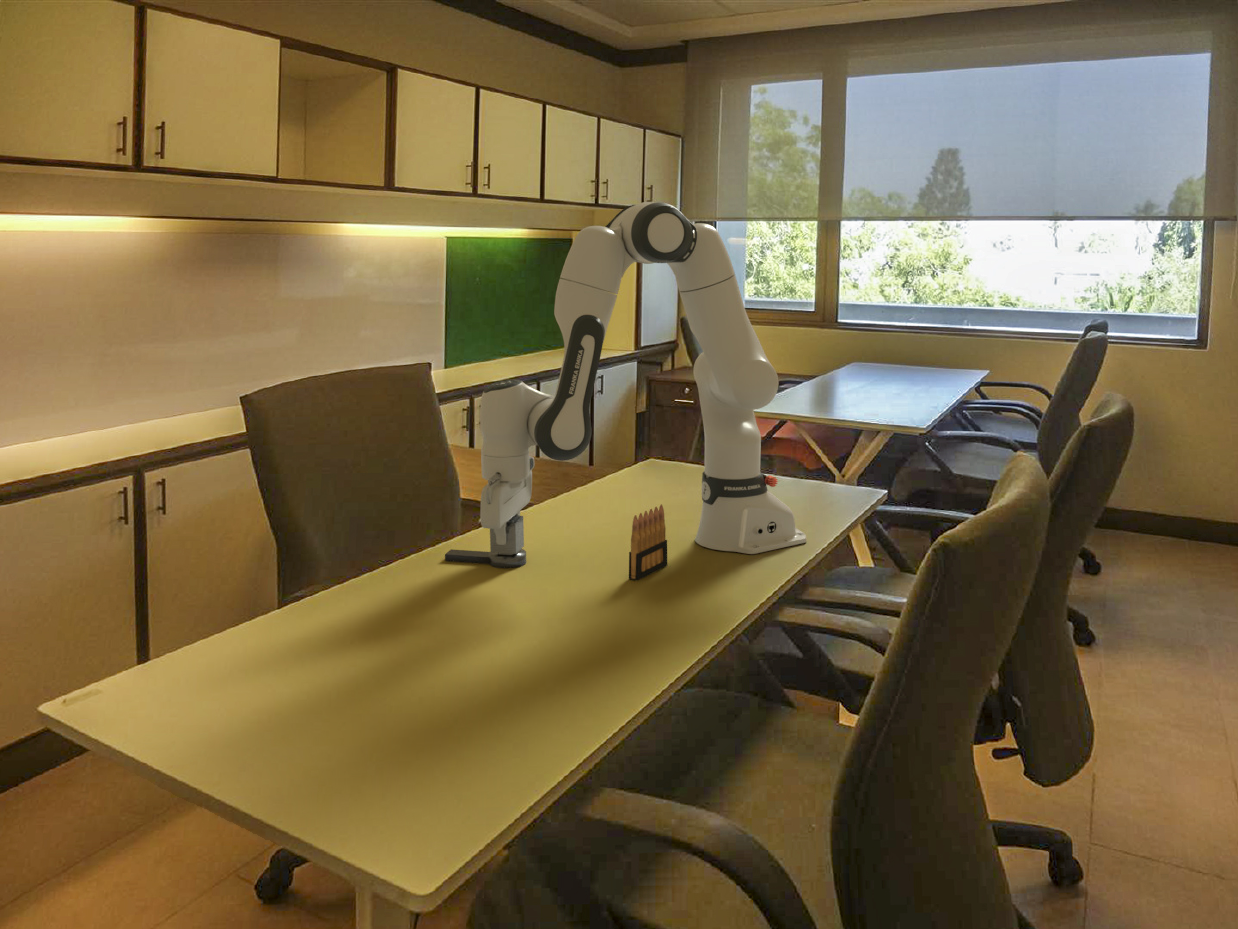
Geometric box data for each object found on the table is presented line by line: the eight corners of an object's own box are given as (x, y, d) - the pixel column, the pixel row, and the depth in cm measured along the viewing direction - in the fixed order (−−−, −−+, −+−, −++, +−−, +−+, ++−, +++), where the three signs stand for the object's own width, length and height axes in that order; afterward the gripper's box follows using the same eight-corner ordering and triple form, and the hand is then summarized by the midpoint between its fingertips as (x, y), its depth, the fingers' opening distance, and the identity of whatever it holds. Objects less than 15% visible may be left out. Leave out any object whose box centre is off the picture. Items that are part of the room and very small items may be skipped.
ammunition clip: (636, 581, 193) (637, 517, 191) (628, 579, 194) (628, 515, 192) (667, 565, 202) (668, 504, 199) (659, 563, 203) (659, 502, 200)
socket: (523, 546, 205) (523, 515, 204) (516, 554, 200) (515, 523, 199) (499, 544, 206) (498, 514, 205) (490, 552, 201) (489, 521, 200)
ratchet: (530, 558, 207) (530, 532, 205) (520, 569, 200) (519, 543, 199) (454, 553, 210) (453, 527, 209) (441, 564, 203) (440, 538, 202)
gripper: (504, 481, 189) (506, 556, 192) (537, 456, 209) (538, 525, 212) (470, 479, 190) (472, 554, 194) (506, 455, 210) (507, 523, 213)
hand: (507, 538), depth 203 cm, fingers closed on socket, 5 cm apart
